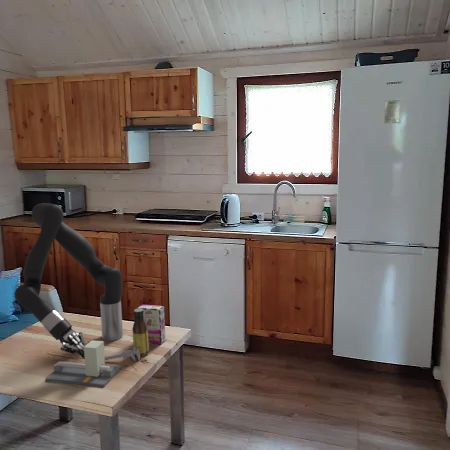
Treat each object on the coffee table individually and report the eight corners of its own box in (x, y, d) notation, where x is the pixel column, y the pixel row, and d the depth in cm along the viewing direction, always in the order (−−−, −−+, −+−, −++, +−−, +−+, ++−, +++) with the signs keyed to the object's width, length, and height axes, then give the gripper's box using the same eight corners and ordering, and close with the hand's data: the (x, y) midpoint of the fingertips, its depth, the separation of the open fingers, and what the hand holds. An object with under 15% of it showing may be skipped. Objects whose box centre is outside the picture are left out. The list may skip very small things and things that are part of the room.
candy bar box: (166, 340, 204) (164, 305, 201) (161, 344, 199) (160, 309, 197) (143, 337, 207) (142, 303, 204) (138, 342, 202) (137, 307, 200)
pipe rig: (65, 363, 183) (65, 353, 182) (120, 368, 178) (120, 358, 177) (45, 380, 169) (44, 370, 169) (104, 387, 164) (103, 375, 164)
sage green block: (93, 368, 176) (91, 340, 174) (105, 369, 175) (103, 341, 173) (85, 375, 170) (83, 347, 168) (97, 376, 169) (96, 348, 167)
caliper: (140, 360, 186) (139, 345, 185) (139, 361, 185) (139, 347, 184) (90, 362, 185) (89, 347, 184) (89, 363, 184) (88, 348, 183)
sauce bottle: (141, 349, 195) (139, 305, 192) (152, 352, 192) (150, 308, 188) (130, 354, 190) (128, 310, 187) (140, 358, 186) (138, 313, 183)
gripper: (52, 325, 165) (84, 359, 165) (71, 312, 178) (101, 343, 177) (40, 337, 167) (72, 371, 167) (60, 324, 180) (90, 355, 179)
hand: (87, 357), depth 172 cm, fingers closed
